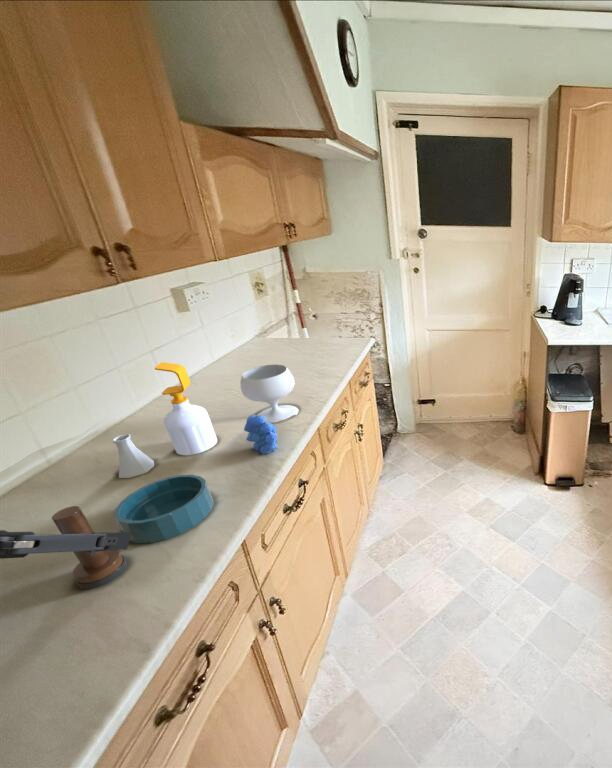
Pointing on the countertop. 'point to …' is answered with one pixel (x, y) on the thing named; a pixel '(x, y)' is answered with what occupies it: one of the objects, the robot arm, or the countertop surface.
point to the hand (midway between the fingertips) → (85, 542)
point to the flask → (131, 458)
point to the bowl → (164, 508)
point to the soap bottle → (186, 417)
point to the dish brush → (90, 568)
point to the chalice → (269, 390)
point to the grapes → (261, 434)
